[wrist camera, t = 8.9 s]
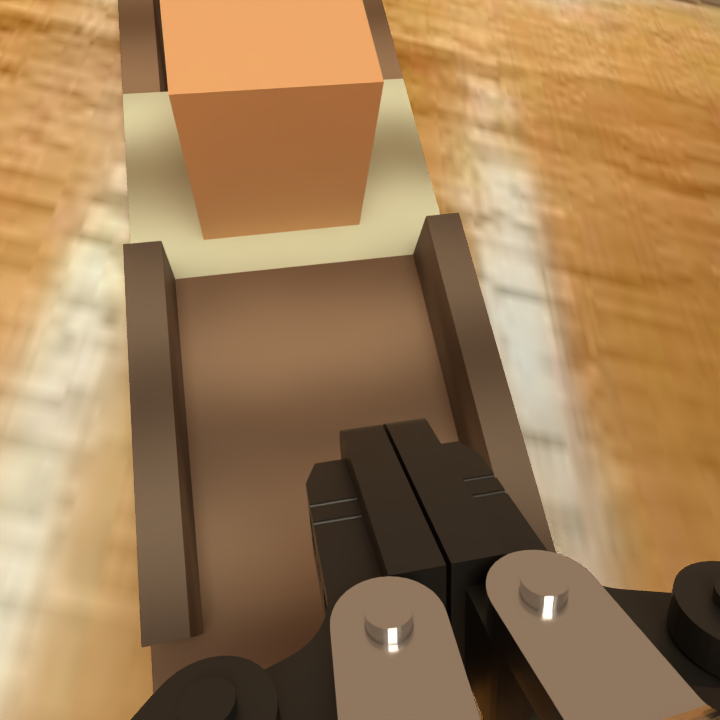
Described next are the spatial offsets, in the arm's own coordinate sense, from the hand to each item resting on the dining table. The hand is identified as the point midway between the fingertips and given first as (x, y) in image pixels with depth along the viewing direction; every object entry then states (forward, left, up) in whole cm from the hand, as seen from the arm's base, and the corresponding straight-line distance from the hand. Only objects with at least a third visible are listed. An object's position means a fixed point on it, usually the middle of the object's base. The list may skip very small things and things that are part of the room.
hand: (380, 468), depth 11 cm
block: (-8, -12, -9) cm, 17 cm away
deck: (-7, -10, -12) cm, 17 cm away
